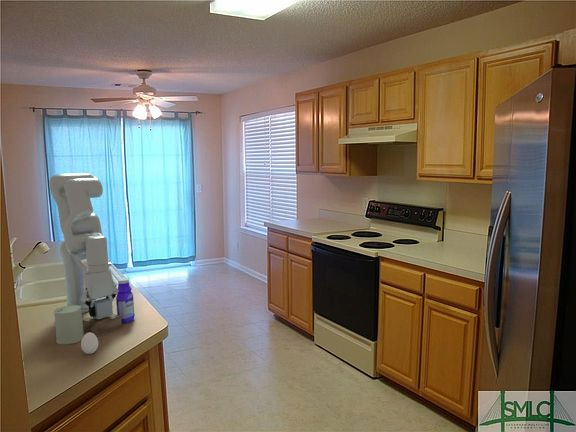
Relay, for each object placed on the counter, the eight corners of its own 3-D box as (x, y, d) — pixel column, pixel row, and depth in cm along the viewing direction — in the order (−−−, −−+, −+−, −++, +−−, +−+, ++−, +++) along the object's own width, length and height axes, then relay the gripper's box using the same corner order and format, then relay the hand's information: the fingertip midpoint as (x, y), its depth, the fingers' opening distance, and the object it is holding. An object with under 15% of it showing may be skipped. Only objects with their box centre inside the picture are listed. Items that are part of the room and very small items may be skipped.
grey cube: (89, 316, 170) (88, 301, 170) (104, 312, 175) (103, 297, 174) (98, 319, 167) (97, 303, 166) (112, 314, 171) (111, 299, 171)
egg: (101, 350, 152) (100, 329, 152) (95, 356, 147) (93, 335, 146) (85, 350, 152) (84, 329, 151) (79, 357, 147) (77, 335, 146)
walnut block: (82, 332, 170) (81, 320, 169) (104, 324, 178) (103, 312, 178) (100, 336, 165) (99, 324, 164) (121, 327, 174) (121, 315, 173)
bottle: (127, 324, 177) (125, 281, 175) (114, 323, 178) (112, 281, 176) (137, 318, 184) (134, 277, 182) (124, 317, 185) (122, 276, 183)
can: (54, 338, 163) (51, 307, 162) (81, 332, 169) (78, 302, 167) (59, 346, 156) (56, 313, 154) (87, 340, 161) (84, 308, 160)
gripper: (113, 262, 178) (116, 306, 180) (70, 271, 164) (74, 318, 166) (124, 265, 173) (126, 309, 175) (80, 274, 160) (84, 322, 162)
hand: (101, 313), depth 171 cm, fingers closed on grey cube, 6 cm apart
